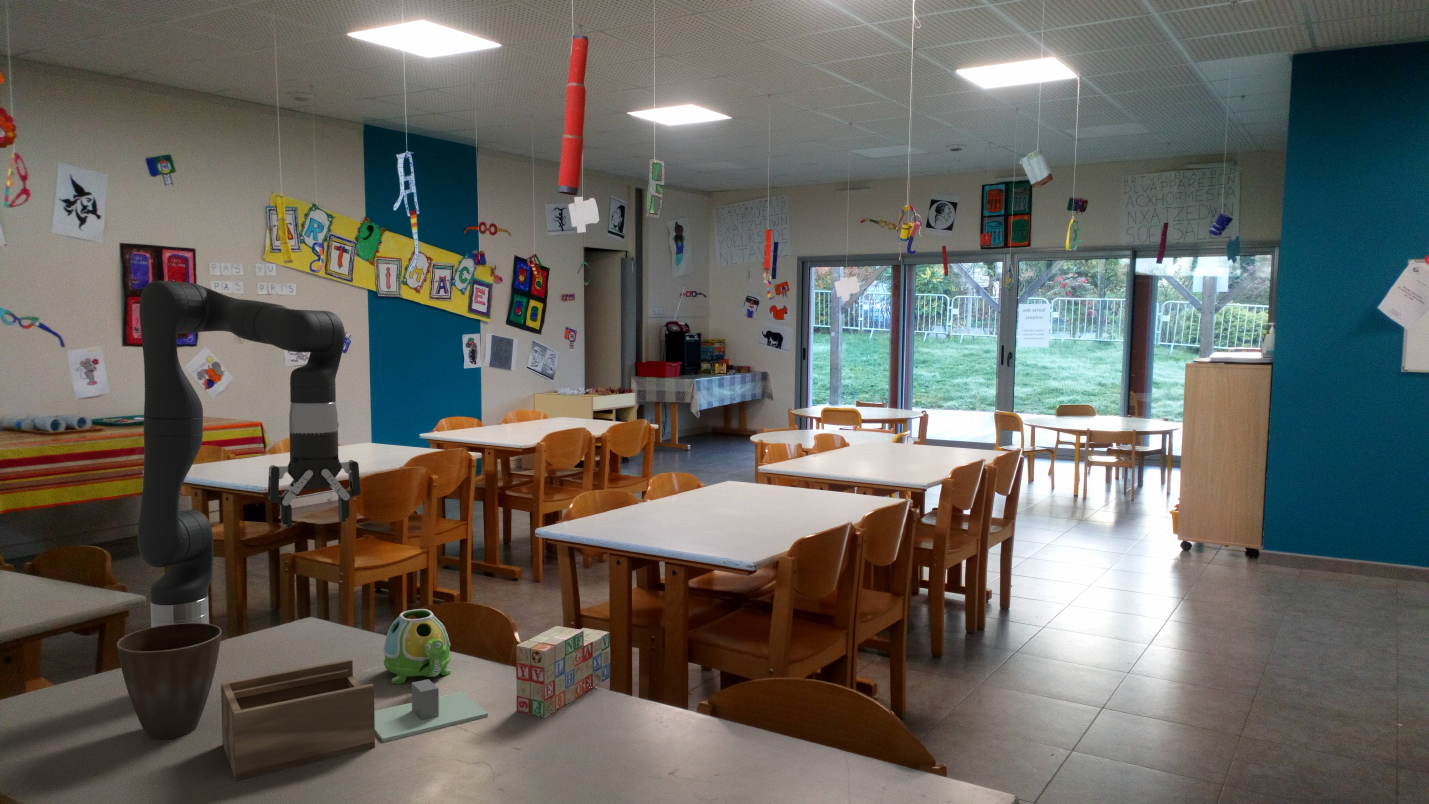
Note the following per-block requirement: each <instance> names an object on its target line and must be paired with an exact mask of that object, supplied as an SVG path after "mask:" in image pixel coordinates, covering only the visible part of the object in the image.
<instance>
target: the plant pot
mask: <svg viewBox="0 0 1429 804" xmlns="http://www.w3.org/2000/svg"><path fill="white" fill-rule="evenodd" d="M221 638H222V628H221V627H220V626H218V625H215V624H212V623H209V624H206V623H178V624H168V625H162V626H156V627H151V626H150V627H148V628H144V629H139V630H136V631H134V632H131V633H128V634H126V635H124V636H123V637H121V638H119V640H118V641H117V642H116V647H117V653H118V657H119V663H120V668H121V672H122V676H123V679H124V680H123V681H124V683H125V686H126V691H127V693H128V695H129V699H130V701H131V705H132V708H133V709H134V712H135V714H136V717H137V719H138V721H139V724H140V725H141V727H142V730H143V731H144V733H145V735H146V736H147V738H150V739H154V740H155V739H156V740H162V739H163V740H164V739H171V738H172V739H173V738H178V737H181V736H185V735H186V734H187V735H188V734H190V733H192V732H193V731H194V730H195V729H197V727H198V725H199V722H200V719H201V717H202V715H203V711H204V710H205V707H206V704H207V702H208V701H207V700H208V697H209V695H210V691H211V688H212V684H213V680H214V676H215V672H216V668H217V663H218V659H219V654H220V653H219V652H220V646H221Z"/></svg>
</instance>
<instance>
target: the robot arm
mask: <svg viewBox="0 0 1429 804" xmlns="http://www.w3.org/2000/svg"><path fill="white" fill-rule="evenodd" d="M138 314H139V326H140V336H141V343H142V345H141V346H142V355H143V369H144V372H143V373H144V375H143V376H144V403H143V404H144V406H143V407H144V408H143V447H144V448H143V449H144V453H143V455H144V456H143V480H142V492H141V493H142V494H141V501H140V508H139V509H140V510H139V516H138V525H137V546H138V550H139V554H140V557H141V558H142V559H143V561H144V562H145V563H146V564H147V565H148V566H150V567H152V568H158V569H159V568H166V567H168V568H167V570H166V571H165V573H164V574H163V576H161V578H160V579H158V580H157V581H156V582H155V583H154V584H152V586H151V588H150V591H149V593H150V595H149V596H150V598H149V599H150V600H149V601H150V619H151V620H150V623H151V626H150V628H151V627H156V626H162V625H168V624H178V623H206V624H210V616H209V615H210V612H209V586H210V585H211V582H212V579H213V572H214V567H213V565H214V533H213V532H214V531H213V527H212V525H211V522H210V520H209V519H208V517H207V516H206V515H205V513H203V512H202V511H200V510H196V509H185V510H179V509H180V495H181V491H182V487H183V485H184V482H185V479H186V477H187V475H188V474H189V472H190V469H191V468H192V467H193V464H194V463H195V461H196V459H197V457H198V455H199V452H200V449H201V447H202V444H203V437H204V410H203V404H202V401H201V399H200V397H199V395H198V393H197V391H196V390H195V388H194V386H193V385H192V383H191V382H190V379H189V378H188V377H187V375H186V373H185V372H184V370H183V368H182V365H181V363H180V360H179V355H178V343H177V334H187V335H188V334H190V335H191V334H197V333H204V332H205V333H206V332H227V333H231V334H232V335H235V336H236V337H238V338H241V339H243V340H246V341H251V342H255V343H260V344H265V345H272V346H274V347H276V348H278V349H281V350H283V351H288V352H293V353H309V355H308V359H307V362H306V364H304V365H303V366H299V367H297V368H294V369H293V370H292V371H291V373H290V376H289V387H290V389H289V390H290V392H289V394H290V396H289V397H290V398H289V401H290V405H289V415H288V423H289V426H288V427H289V428H288V429H289V431H288V432H289V436H288V437H289V462H288V464H287V465H282V466H281V465H279V466H277V465H274V464H272V465H270V466H269V467H268V480H267V481H268V483H267V486H268V487H267V500H268V501H270V502H271V503H272V504H274V503H275V504H279V506H280V521H281V522H280V523H282V525H284V526H285V528H287V529H289V528H292V527H293V512H292V510H293V507H292V504H291V502H292V501H293V499H294V498H296V496H298V494H299V493H300V492H301V490H303V489H304V490H305V491H311V490H314V489H320V490H322V489H327V488H328V487H330V488H331V489H332V490H333V491H334V492H335V493H336V495H338V497H339V498H338V500H337V501H338V503H337V505H338V506H337V507H338V508H337V509H338V511H337V512H338V513H337V514H338V521H339V522H340V523H345V522H346V521H347V519H349V517H350V500H351V499H352V498H354V497H356V496H357V497H358V496H360V495H361V492H362V491H361V490H362V489H361V479H360V468H359V465H360V464H359V462H358V461H356V460H353V459H350V460H348V461H344V462H343V461H342V462H340V458H339V427H340V425H339V419H338V416H339V415H338V410H337V399H336V396H337V395H336V393H337V392H336V388H337V387H336V386H337V385H336V378H337V373H338V371H339V366H340V362H341V359H342V355H343V352H344V347H345V343H346V331H345V330H346V329H345V326H344V324H343V321H342V319H341V318H340V317H339V316H338V314H336V313H335V312H333V311H329V310H315V309H313V310H311V309H308V310H307V309H294V308H288V307H287V306H285V305H281V304H277V303H271V302H266V301H265V302H264V301H259V300H254V299H253V300H252V299H251V300H250V299H241V298H235V297H232V296H228V295H227V294H226V295H225V294H223V293H220V292H218V291H216V290H213V289H211V288H208V287H206V286H203V285H200V284H198V283H194V282H183V281H169V280H154V281H150V282H149V283H147V284H146V285H145V286H144V288H143V290H142V292H141V295H140V298H139V313H138ZM342 470H343V471H344V472H345V474H347V475H348V483H349V488H348V489H345V488H344V486H342V485H341V483H340V482H339V480H338V479H337V476H338V475H339V473H340V472H341V471H342ZM286 473H288V475H289V476H290V478H292V481H291V482H290V483H289V484H288V485H287V488H286V490H285V491H284V492H283V494H281V495H280V494H279V491H280V489H279V487H280V480H282V479H284V476H285V474H286Z"/></svg>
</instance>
